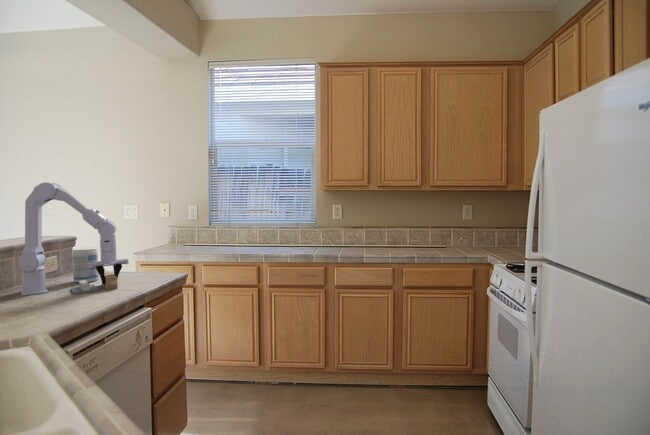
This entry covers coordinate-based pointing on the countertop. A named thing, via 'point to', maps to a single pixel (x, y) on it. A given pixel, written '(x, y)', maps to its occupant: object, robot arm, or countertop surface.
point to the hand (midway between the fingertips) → (109, 282)
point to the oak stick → (110, 281)
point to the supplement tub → (85, 264)
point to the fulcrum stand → (84, 288)
